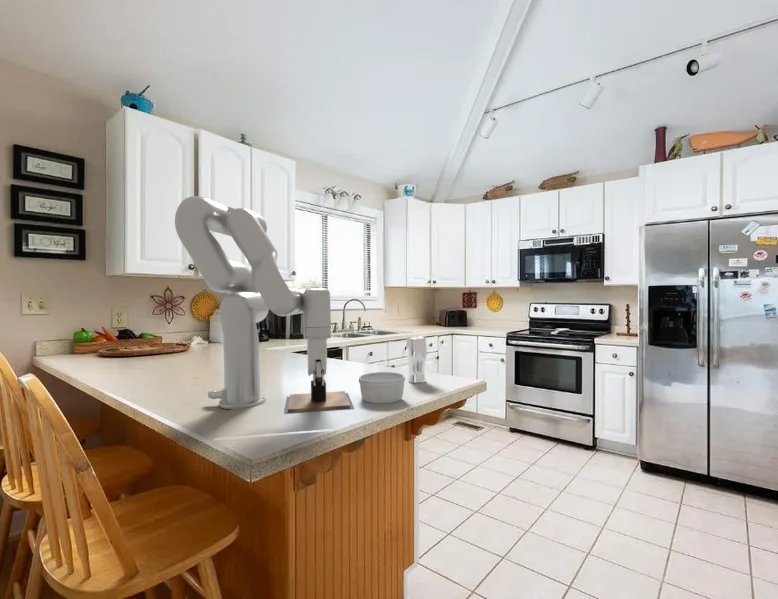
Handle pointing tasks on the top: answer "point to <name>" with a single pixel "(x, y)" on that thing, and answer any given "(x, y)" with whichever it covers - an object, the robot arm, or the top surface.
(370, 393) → the ramekin
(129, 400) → the top surface
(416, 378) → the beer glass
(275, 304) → the robot arm
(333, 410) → the mat
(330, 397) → the lid
